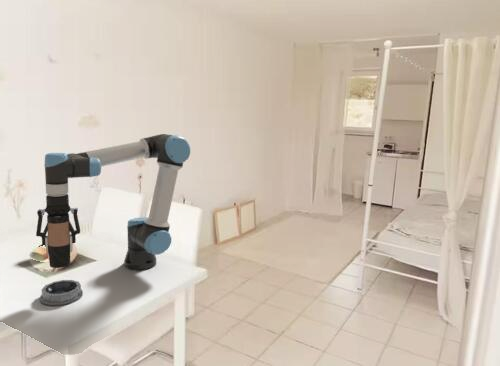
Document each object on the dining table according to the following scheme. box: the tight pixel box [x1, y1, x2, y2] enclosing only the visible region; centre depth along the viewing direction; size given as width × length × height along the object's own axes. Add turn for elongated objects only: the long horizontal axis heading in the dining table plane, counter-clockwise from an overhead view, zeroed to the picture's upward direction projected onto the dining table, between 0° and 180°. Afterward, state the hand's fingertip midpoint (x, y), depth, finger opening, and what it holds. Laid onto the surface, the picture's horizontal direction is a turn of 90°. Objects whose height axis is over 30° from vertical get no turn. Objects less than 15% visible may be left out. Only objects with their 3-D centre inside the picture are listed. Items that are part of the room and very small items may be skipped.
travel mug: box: [46, 213, 71, 269], centre depth 144 cm, size 8×8×20 cm
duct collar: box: [39, 279, 84, 307], centre depth 148 cm, size 15×15×4 cm
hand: (59, 252), depth 145 cm, fingers closed on travel mug, 8 cm apart
